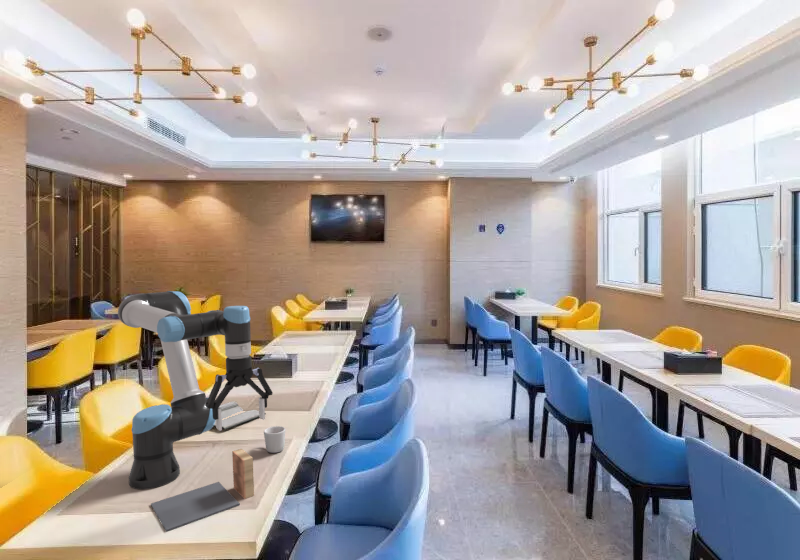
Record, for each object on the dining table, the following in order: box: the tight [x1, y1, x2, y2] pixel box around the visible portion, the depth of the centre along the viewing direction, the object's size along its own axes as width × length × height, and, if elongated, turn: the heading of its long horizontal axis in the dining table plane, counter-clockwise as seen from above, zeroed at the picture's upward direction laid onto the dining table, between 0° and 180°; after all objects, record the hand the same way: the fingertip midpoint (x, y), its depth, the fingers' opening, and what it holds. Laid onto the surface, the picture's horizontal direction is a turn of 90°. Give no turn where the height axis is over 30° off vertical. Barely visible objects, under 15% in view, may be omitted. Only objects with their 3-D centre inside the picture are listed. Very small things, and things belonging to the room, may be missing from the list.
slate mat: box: [150, 481, 241, 533], centre depth 139 cm, size 18×20×1 cm
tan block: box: [231, 448, 255, 500], centre depth 146 cm, size 9×3×12 cm, turn 40°
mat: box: [213, 400, 267, 431], centre depth 212 cm, size 23×24×5 cm
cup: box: [263, 425, 286, 454], centre depth 178 cm, size 11×8×8 cm
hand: (241, 423), depth 145 cm, fingers open, 13 cm apart
